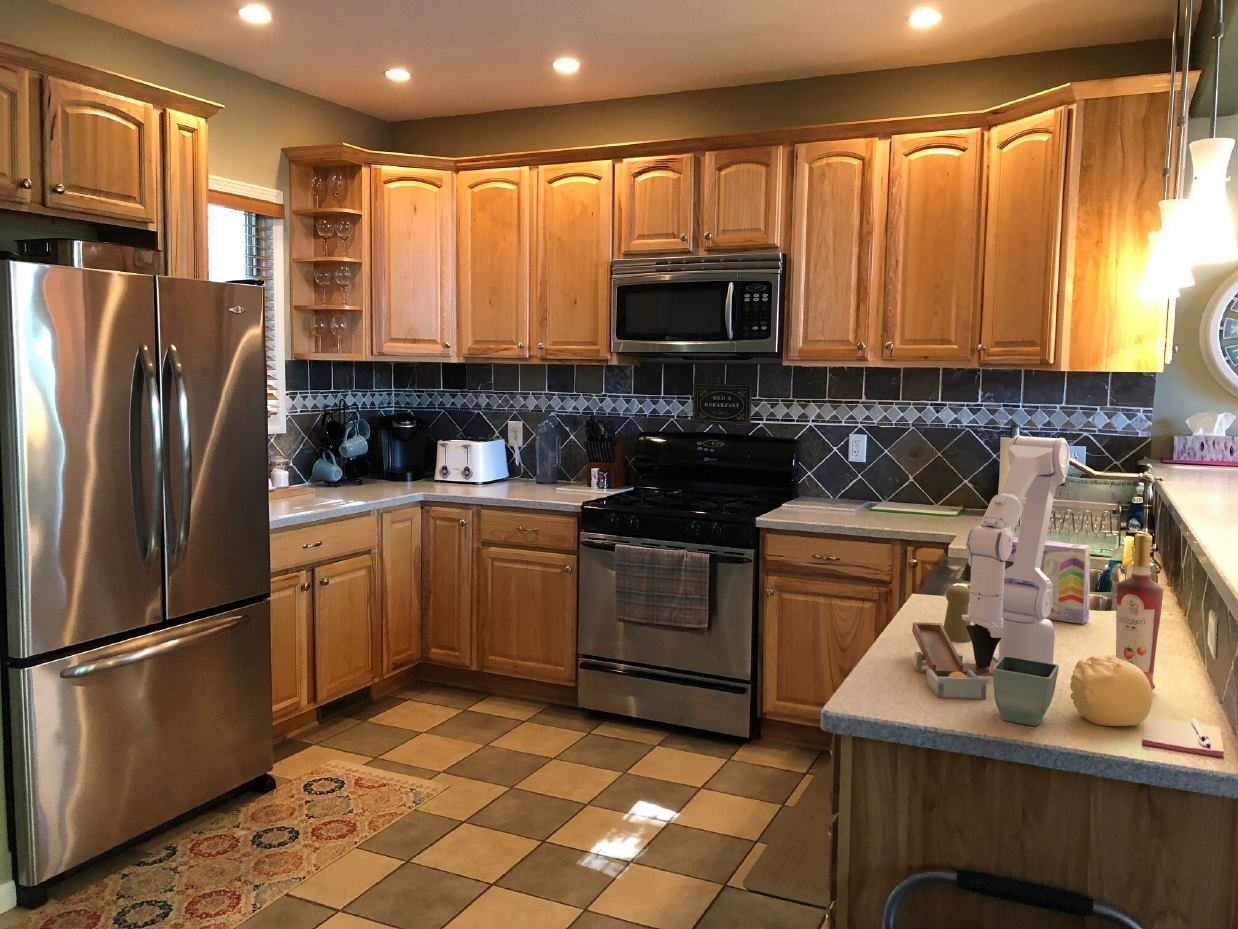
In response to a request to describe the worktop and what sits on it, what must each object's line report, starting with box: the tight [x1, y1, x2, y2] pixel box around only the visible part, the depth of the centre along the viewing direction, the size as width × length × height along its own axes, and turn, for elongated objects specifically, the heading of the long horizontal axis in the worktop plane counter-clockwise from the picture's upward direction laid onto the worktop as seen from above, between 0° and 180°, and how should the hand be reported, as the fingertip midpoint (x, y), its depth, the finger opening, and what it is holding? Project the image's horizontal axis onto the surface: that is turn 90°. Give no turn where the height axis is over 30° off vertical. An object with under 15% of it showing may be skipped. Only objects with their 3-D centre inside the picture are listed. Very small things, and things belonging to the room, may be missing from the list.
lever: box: [912, 621, 993, 677], centre depth 188 cm, size 11×16×3 cm
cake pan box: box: [1005, 536, 1091, 625], centre depth 229 cm, size 19×5×18 cm, turn 49°
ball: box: [947, 672, 967, 678], centre depth 174 cm, size 4×4×4 cm
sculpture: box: [1069, 653, 1153, 727], centre depth 161 cm, size 11×12×11 cm
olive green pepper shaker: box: [943, 585, 972, 643], centre depth 209 cm, size 6×6×11 cm
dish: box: [925, 669, 988, 700], centre depth 175 cm, size 8×9×4 cm
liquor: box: [1115, 533, 1164, 691], centre depth 176 cm, size 7×7×28 cm
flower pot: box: [992, 656, 1060, 727], centre depth 161 cm, size 9×9×9 cm
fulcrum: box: [913, 651, 964, 673], centre depth 187 cm, size 8×2×3 cm, turn 87°
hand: (982, 666), depth 181 cm, fingers closed
